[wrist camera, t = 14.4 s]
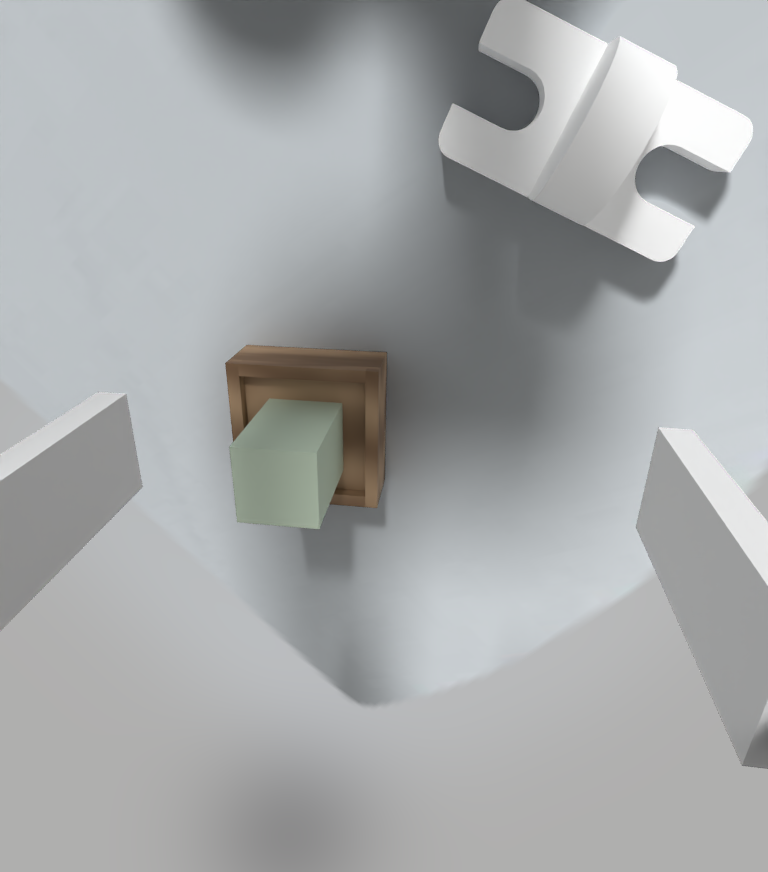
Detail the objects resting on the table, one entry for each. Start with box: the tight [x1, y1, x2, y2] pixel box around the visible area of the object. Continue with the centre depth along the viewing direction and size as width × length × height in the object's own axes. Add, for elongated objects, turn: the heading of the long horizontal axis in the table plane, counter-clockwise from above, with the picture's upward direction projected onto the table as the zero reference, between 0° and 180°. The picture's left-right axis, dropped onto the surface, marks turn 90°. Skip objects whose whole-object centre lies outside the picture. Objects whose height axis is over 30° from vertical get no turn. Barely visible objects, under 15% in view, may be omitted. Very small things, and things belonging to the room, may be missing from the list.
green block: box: [229, 399, 343, 529], centre depth 46 cm, size 6×6×9 cm
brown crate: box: [225, 345, 387, 508], centre depth 51 cm, size 12×12×5 cm
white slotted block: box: [438, 0, 753, 262], centre depth 37 cm, size 10×18×11 cm, turn 66°
